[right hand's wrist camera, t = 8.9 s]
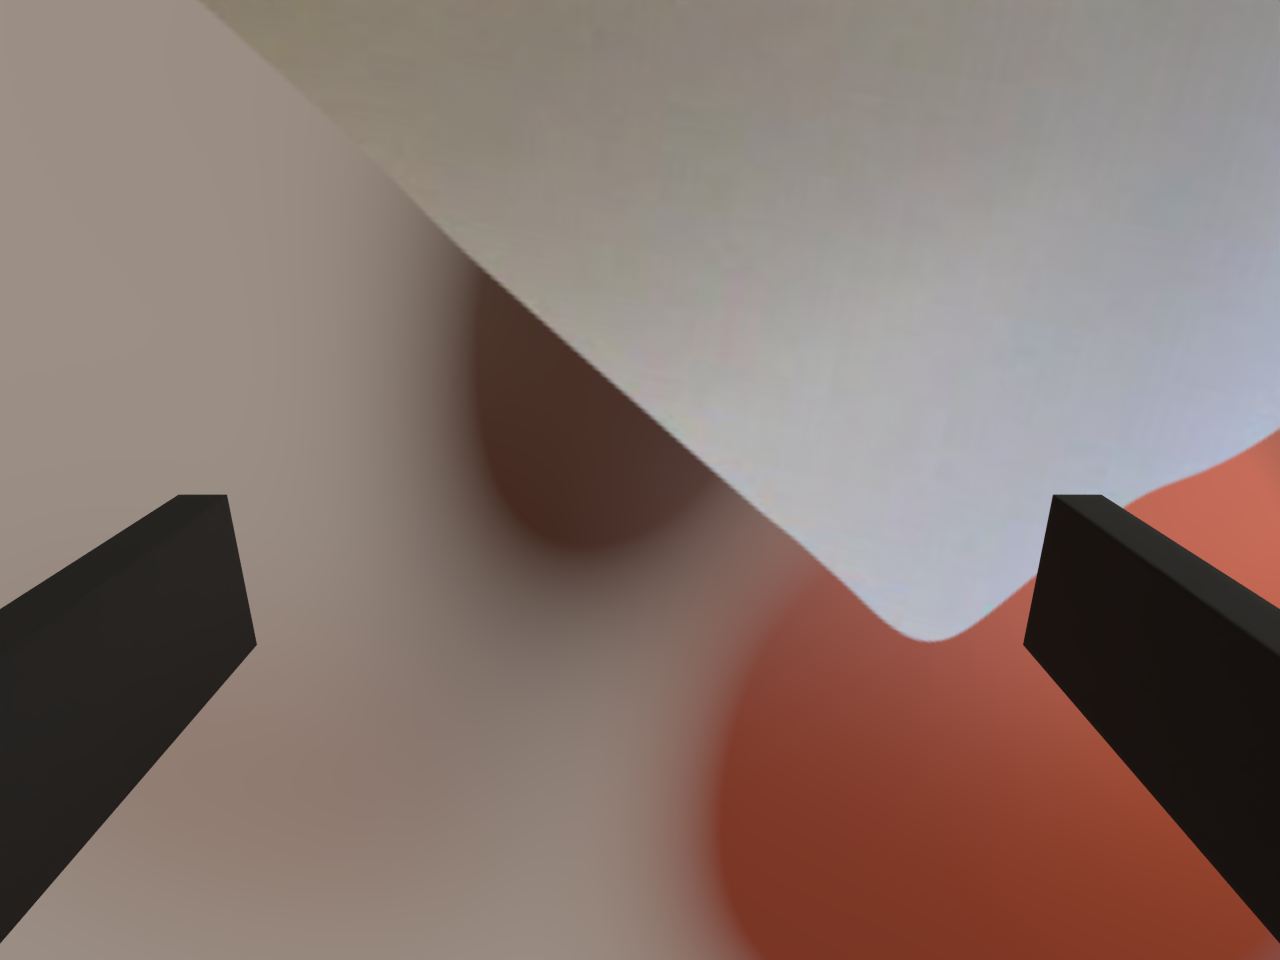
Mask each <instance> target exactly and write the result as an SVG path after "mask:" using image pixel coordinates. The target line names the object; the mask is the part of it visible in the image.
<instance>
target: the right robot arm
mask: <svg viewBox="0 0 1280 960" xmlns="http://www.w3.org/2000/svg"><path fill="white" fill-rule="evenodd" d="M256 645H257V643H256V638H255V633H254V628H253V623H252V618H251V613H250V608H249V603H248V598H247V593H246V588H245V583H244V578H243V573H242V568H241V563H240V558H239V553H238V548H237V543H236V538H235V533H234V528H233V523H232V518H231V513H230V508H229V503H228V498H227V495H177V496H176V497H175V498H173V499H171V500H170V501H168V502H167V503H165V504H163V505H162V506H160V507H159V508H157V509H156V510H154V511H153V512H151V513H149V514H148V515H146V516H145V517H143V518H142V519H140V520H139V521H137V522H135V523H134V524H132V525H131V526H129V527H128V528H126V529H124V530H123V531H121V532H120V533H118V534H117V535H115V536H114V537H112V538H110V539H109V540H107V541H106V542H104V543H103V544H101V545H100V546H98V547H97V548H95V549H93V550H92V551H90V552H89V553H87V554H86V555H84V556H82V557H81V558H79V559H78V560H76V561H75V562H73V563H71V564H70V565H68V566H67V567H65V568H64V569H62V570H61V571H59V572H57V573H56V574H54V575H53V576H51V577H50V578H48V579H46V580H45V581H43V582H42V583H40V584H39V585H37V586H36V587H34V588H32V589H31V590H29V591H28V592H26V593H25V594H23V595H22V596H20V597H18V598H17V599H15V600H14V601H12V602H11V603H9V604H8V605H6V606H4V607H3V608H1V609H0V943H1V942H2V941H3V940H4V938H5V937H6V936H7V935H8V934H9V933H10V931H11V930H12V929H13V928H14V927H15V926H16V924H17V923H18V922H19V921H20V920H21V919H22V917H23V916H24V915H25V914H26V913H27V912H28V910H29V909H30V908H31V907H32V906H33V905H34V903H35V902H36V901H37V900H38V899H39V898H40V896H41V895H42V894H43V893H44V892H45V891H46V889H47V888H48V887H49V886H50V885H51V884H52V883H53V881H54V880H55V879H56V878H57V877H58V876H59V874H60V873H61V872H62V871H63V870H64V869H65V867H66V866H67V865H68V864H69V863H70V862H71V860H72V859H73V858H74V857H75V856H76V855H77V853H78V852H79V851H80V850H81V849H82V848H83V846H84V845H85V844H86V843H87V842H88V841H89V839H90V838H91V837H92V836H93V835H94V834H95V832H96V831H97V830H98V829H99V828H100V827H101V825H102V824H103V823H104V822H105V821H106V820H107V819H108V817H109V816H110V815H111V814H112V813H113V812H114V810H115V809H116V808H117V807H118V806H119V804H120V803H121V802H122V801H123V800H124V799H125V798H126V796H127V795H128V794H129V793H130V792H131V791H132V789H133V788H134V787H135V786H136V785H137V784H138V782H139V781H140V780H141V779H142V778H143V777H144V775H145V774H146V773H147V772H148V771H149V770H150V768H151V767H152V766H153V765H154V764H155V763H156V762H157V760H158V759H159V758H160V757H161V756H162V755H163V753H164V752H165V751H166V750H167V749H168V748H169V746H170V745H171V744H172V743H173V742H174V741H175V739H176V738H177V737H178V736H179V735H180V734H181V732H182V731H183V730H184V729H185V728H186V727H187V725H188V724H189V723H190V722H191V721H192V720H193V718H194V717H195V716H196V715H197V714H198V713H199V711H200V710H201V709H202V708H203V707H204V706H205V704H206V703H207V702H208V701H209V700H210V699H211V698H212V696H213V695H214V694H215V693H216V692H217V691H218V689H219V688H220V687H221V686H222V685H223V684H224V682H225V681H226V680H227V679H228V678H229V677H230V675H231V674H232V673H233V672H234V671H235V669H236V668H237V667H238V666H239V665H240V664H241V663H242V661H243V660H244V659H245V658H246V657H247V656H248V654H249V653H250V652H251V651H252V650H253V649H254V647H255V646H256ZM1023 645H1024V646H1025V647H1026V649H1027V650H1028V651H1029V652H1030V653H1031V654H1032V656H1033V657H1034V658H1035V659H1036V660H1037V661H1038V663H1039V664H1040V665H1041V666H1042V667H1043V668H1044V670H1045V671H1046V672H1047V673H1048V674H1049V675H1050V677H1051V678H1052V679H1053V680H1054V681H1055V682H1056V684H1057V685H1058V686H1059V687H1060V688H1061V689H1062V691H1063V692H1064V693H1065V694H1066V695H1067V696H1068V698H1069V699H1070V700H1071V701H1072V702H1073V703H1074V705H1075V706H1076V707H1077V708H1078V709H1079V710H1080V711H1081V713H1082V714H1083V715H1084V716H1085V717H1086V718H1087V720H1088V721H1089V722H1090V723H1091V724H1092V725H1093V727H1094V728H1095V729H1096V730H1097V731H1098V732H1099V734H1100V735H1101V736H1102V737H1103V738H1104V739H1105V741H1106V742H1107V743H1108V744H1109V745H1110V746H1111V748H1112V749H1113V750H1114V751H1115V752H1116V753H1117V755H1118V756H1119V757H1120V758H1121V759H1122V760H1123V762H1124V763H1125V764H1126V765H1127V766H1128V767H1129V768H1130V770H1131V771H1132V772H1133V773H1134V774H1135V775H1136V777H1137V778H1138V779H1139V780H1140V781H1141V782H1142V784H1143V785H1144V786H1145V787H1146V788H1147V789H1148V791H1149V792H1150V793H1151V794H1152V795H1153V796H1154V797H1155V799H1156V800H1157V801H1158V802H1159V803H1160V805H1161V806H1162V807H1163V808H1164V809H1165V810H1166V812H1167V813H1168V814H1169V815H1170V816H1171V817H1172V819H1173V820H1174V821H1175V822H1176V823H1177V824H1178V825H1179V827H1180V828H1181V829H1182V830H1183V831H1184V832H1185V834H1186V835H1187V836H1188V837H1189V838H1190V839H1191V841H1192V842H1193V843H1194V844H1195V845H1196V846H1197V848H1198V849H1199V850H1200V851H1201V852H1202V853H1203V855H1204V856H1205V857H1206V858H1207V859H1208V860H1209V862H1210V863H1211V864H1212V865H1213V866H1214V867H1215V869H1216V870H1217V871H1218V872H1219V873H1220V874H1221V876H1222V877H1223V878H1224V879H1225V880H1226V881H1227V883H1228V884H1229V885H1230V886H1231V887H1232V888H1233V889H1234V891H1235V892H1236V893H1237V894H1238V895H1239V896H1240V898H1241V899H1242V900H1243V901H1244V902H1245V903H1246V905H1247V906H1248V907H1249V908H1250V909H1251V910H1252V912H1253V913H1254V914H1255V915H1256V916H1257V917H1258V919H1259V920H1260V921H1261V922H1262V923H1263V924H1264V926H1265V927H1266V928H1267V929H1268V930H1269V931H1270V933H1271V934H1272V935H1273V936H1274V937H1275V938H1276V940H1277V941H1278V942H1279V943H1280V609H1279V608H1277V607H1276V606H1274V605H1272V604H1271V603H1269V602H1268V601H1266V600H1265V599H1263V598H1262V597H1260V596H1258V595H1257V594H1255V593H1254V592H1252V591H1251V590H1249V589H1248V588H1246V587H1244V586H1243V585H1241V584H1240V583H1238V582H1237V581H1235V580H1234V579H1232V578H1230V577H1229V576H1227V575H1226V574H1224V573H1223V572H1221V571H1219V570H1218V569H1216V568H1215V567H1213V566H1212V565H1210V564H1209V563H1207V562H1205V561H1204V560H1202V559H1201V558H1199V557H1198V556H1196V555H1194V554H1193V553H1191V552H1190V551H1188V550H1187V549H1185V548H1184V547H1182V546H1180V545H1179V544H1177V543H1176V542H1174V541H1173V540H1171V539H1170V538H1168V537H1166V536H1165V535H1163V534H1162V533H1160V532H1159V531H1157V530H1156V529H1154V528H1152V527H1151V526H1149V525H1148V524H1146V523H1145V522H1143V521H1141V520H1140V519H1138V518H1137V517H1135V516H1134V515H1132V514H1131V513H1129V512H1127V511H1126V510H1124V509H1123V508H1121V507H1120V506H1118V505H1117V504H1115V503H1113V502H1112V501H1110V500H1109V499H1107V498H1106V497H1104V496H1103V495H1053V498H1052V503H1051V508H1050V513H1049V518H1048V523H1047V528H1046V533H1045V538H1044V543H1043V548H1042V553H1041V558H1040V563H1039V568H1038V573H1037V578H1036V583H1035V588H1034V593H1033V598H1032V603H1031V608H1030V613H1029V618H1028V623H1027V628H1026V633H1025V638H1024V643H1023Z"/></svg>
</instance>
